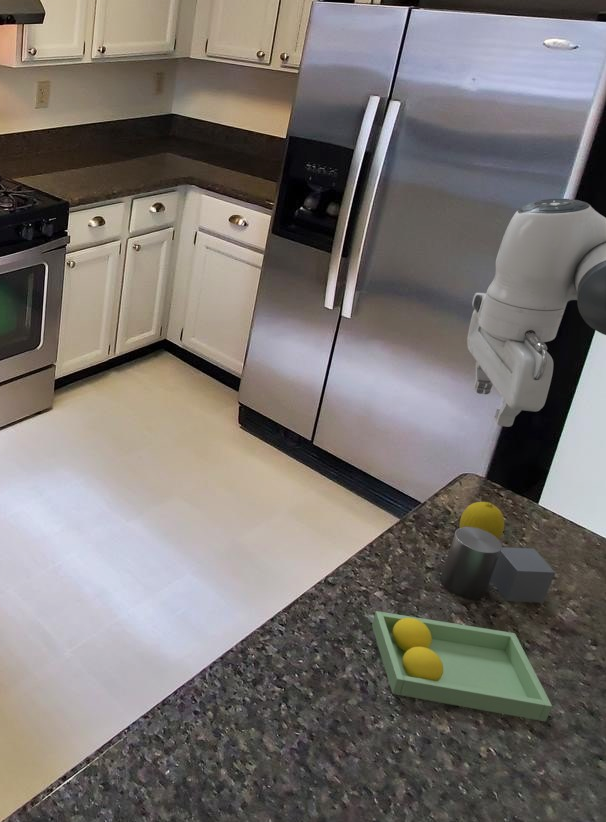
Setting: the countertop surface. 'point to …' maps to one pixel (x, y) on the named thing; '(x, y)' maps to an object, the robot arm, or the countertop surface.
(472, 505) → the lemon
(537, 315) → the robot arm
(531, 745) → the countertop surface
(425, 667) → the small lemon
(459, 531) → the grey tin
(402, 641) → the small lemon
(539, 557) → the grey block
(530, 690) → the tray
